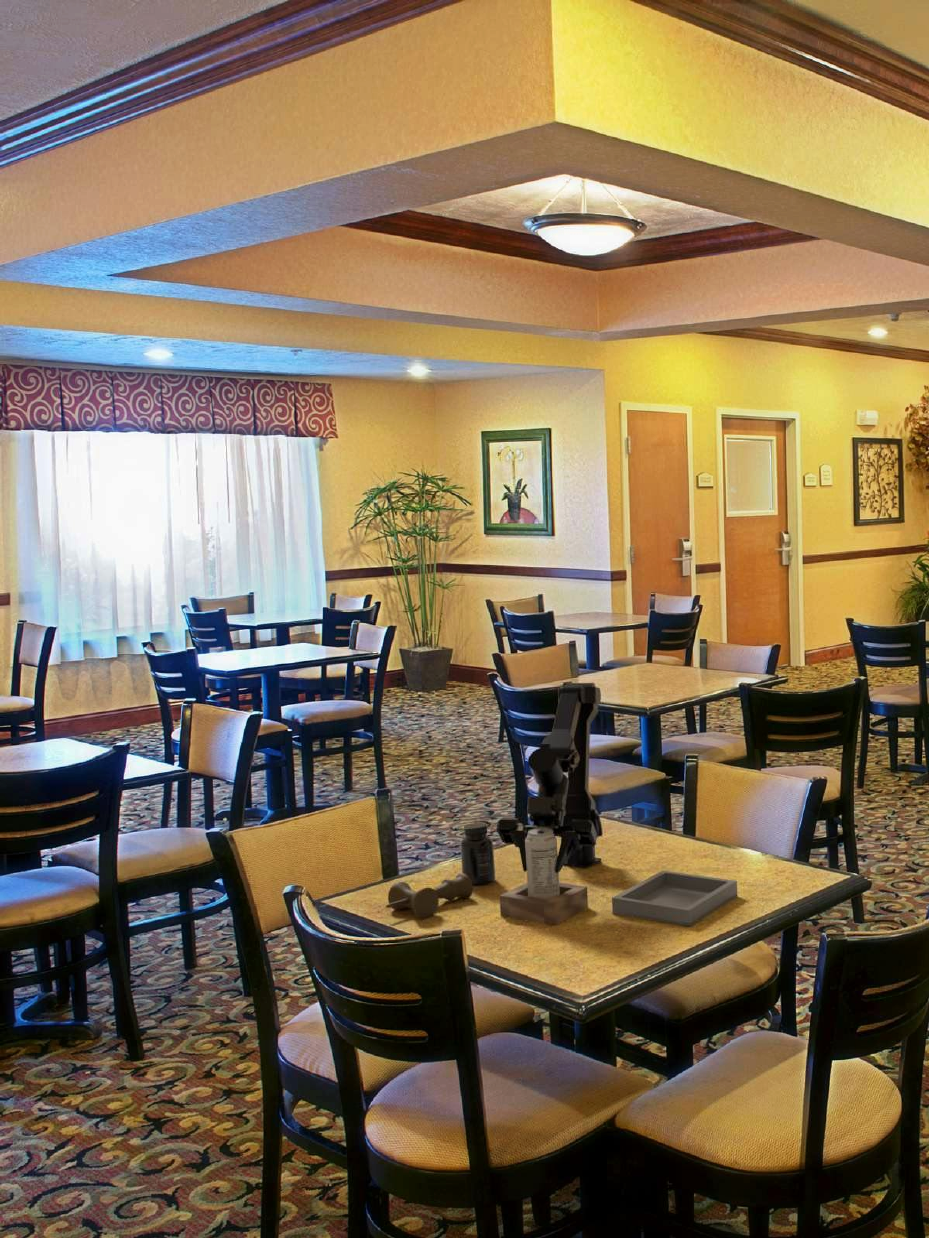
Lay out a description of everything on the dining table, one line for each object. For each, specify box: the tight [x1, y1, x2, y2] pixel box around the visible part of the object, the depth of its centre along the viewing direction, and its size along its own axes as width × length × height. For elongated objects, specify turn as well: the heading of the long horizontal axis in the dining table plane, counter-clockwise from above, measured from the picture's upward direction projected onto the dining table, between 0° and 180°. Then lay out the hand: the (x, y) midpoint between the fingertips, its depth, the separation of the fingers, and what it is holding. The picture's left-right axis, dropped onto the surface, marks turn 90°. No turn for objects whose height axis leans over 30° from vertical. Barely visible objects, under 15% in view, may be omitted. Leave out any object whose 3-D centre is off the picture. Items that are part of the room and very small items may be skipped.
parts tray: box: [611, 870, 738, 928], centre depth 237 cm, size 20×16×3 cm
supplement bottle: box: [459, 822, 496, 887], centre depth 258 cm, size 7×7×12 cm
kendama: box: [385, 873, 474, 920], centre depth 243 cm, size 6×10×20 cm
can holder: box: [499, 882, 589, 927], centre depth 237 cm, size 12×12×4 cm
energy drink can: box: [525, 828, 560, 900], centre depth 236 cm, size 6×6×15 cm
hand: (540, 871), depth 235 cm, fingers closed on energy drink can, 6 cm apart
